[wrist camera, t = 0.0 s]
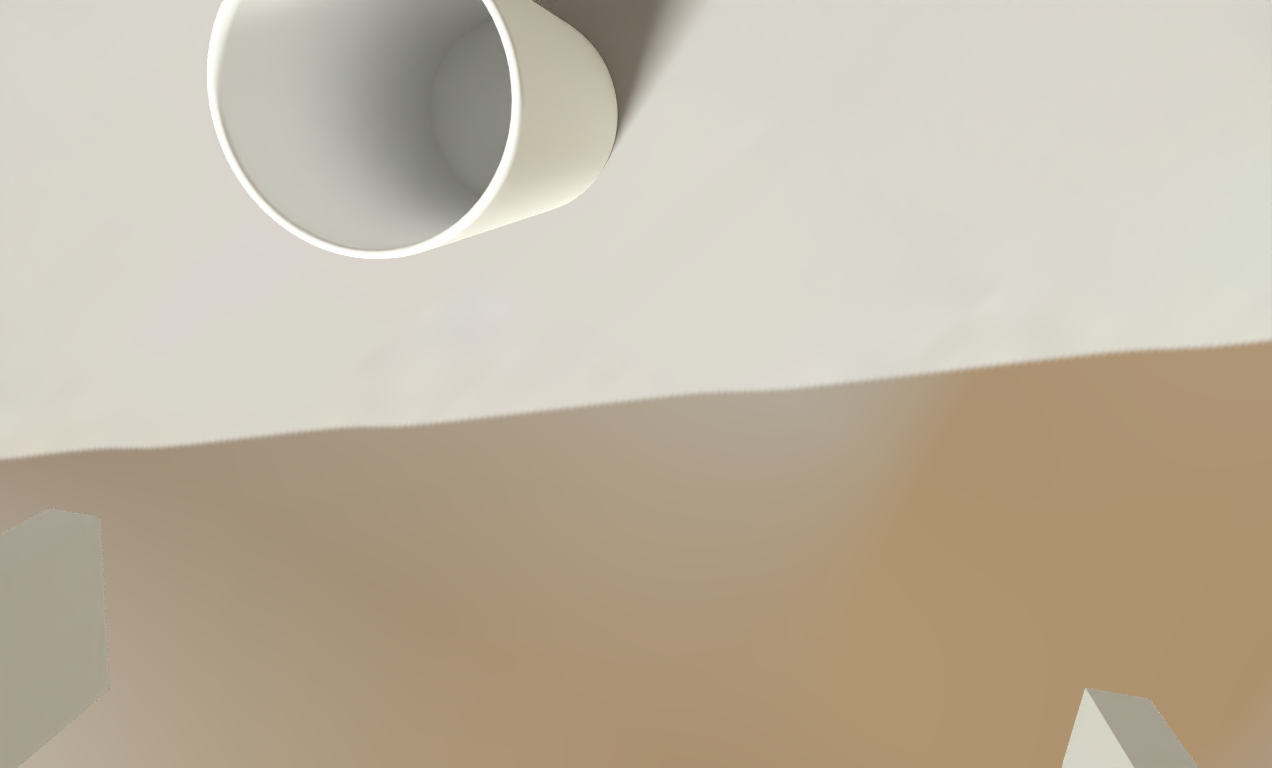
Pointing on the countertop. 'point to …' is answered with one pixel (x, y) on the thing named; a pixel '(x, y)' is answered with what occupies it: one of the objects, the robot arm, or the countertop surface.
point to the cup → (406, 116)
